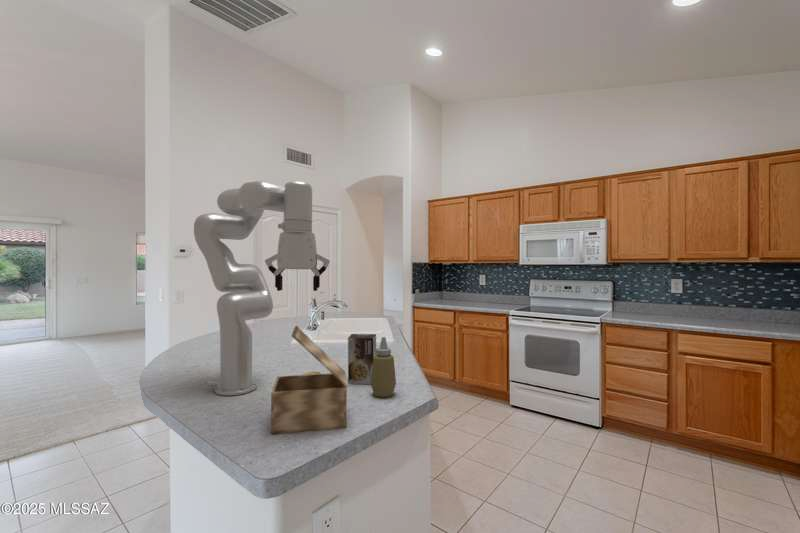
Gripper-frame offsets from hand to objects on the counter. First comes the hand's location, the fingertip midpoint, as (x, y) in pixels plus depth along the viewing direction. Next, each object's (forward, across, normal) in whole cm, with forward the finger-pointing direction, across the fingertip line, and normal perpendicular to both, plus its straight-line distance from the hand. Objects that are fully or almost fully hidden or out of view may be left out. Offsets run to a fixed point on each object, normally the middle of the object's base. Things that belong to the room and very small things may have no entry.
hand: (297, 290), depth 101 cm
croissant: (+34, +1, +15) cm, 37 cm away
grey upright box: (+34, +17, +26) cm, 46 cm away
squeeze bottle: (+34, +24, +12) cm, 43 cm away
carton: (+34, +4, -5) cm, 34 cm away
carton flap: (+17, +7, -5) cm, 19 cm away
